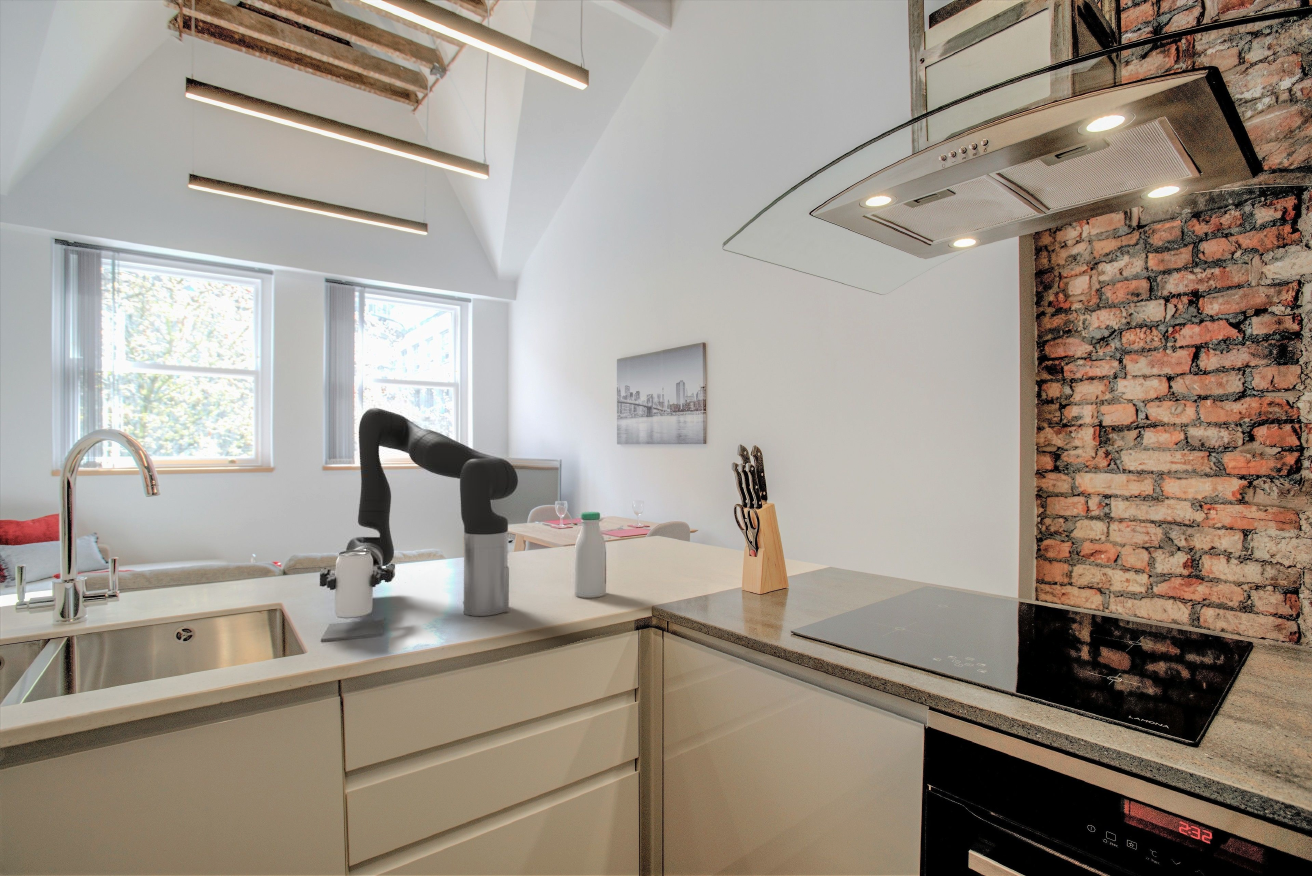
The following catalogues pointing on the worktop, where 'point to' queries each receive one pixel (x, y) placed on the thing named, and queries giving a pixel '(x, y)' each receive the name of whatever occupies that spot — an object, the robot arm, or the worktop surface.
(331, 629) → the coaster
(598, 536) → the milk bottle
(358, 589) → the can
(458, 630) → the worktop surface
